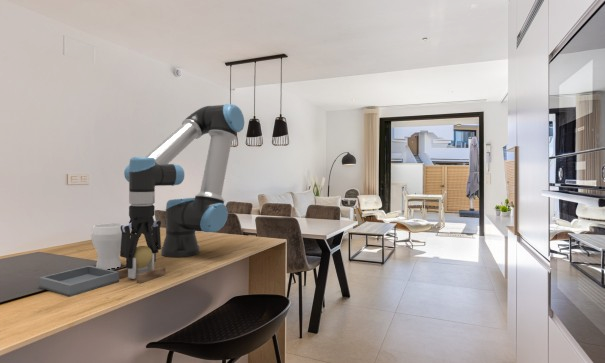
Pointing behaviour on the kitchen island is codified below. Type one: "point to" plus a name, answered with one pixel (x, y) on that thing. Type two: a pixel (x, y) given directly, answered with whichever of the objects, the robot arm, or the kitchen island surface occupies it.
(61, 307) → the kitchen island surface
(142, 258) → the light bulb
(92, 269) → the tray
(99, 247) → the cup
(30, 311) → the kitchen island surface
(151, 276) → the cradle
